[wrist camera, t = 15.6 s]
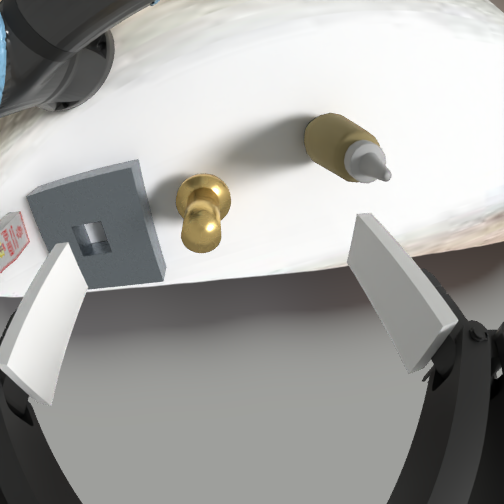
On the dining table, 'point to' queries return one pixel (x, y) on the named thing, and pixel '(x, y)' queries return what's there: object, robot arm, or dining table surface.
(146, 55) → the dining table surface
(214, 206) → the brass door knob
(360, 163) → the squeeze bottle
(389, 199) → the dining table surface
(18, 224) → the tea bag
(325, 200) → the dining table surface
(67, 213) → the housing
